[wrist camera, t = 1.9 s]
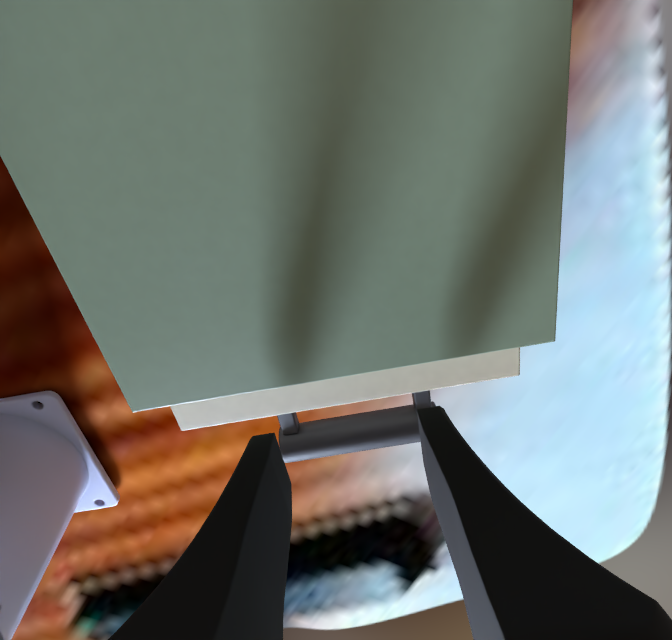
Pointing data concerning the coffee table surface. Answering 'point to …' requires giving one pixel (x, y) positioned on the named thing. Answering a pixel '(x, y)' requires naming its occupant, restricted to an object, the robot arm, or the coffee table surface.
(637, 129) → the coffee table surface
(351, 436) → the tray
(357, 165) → the muted green box
